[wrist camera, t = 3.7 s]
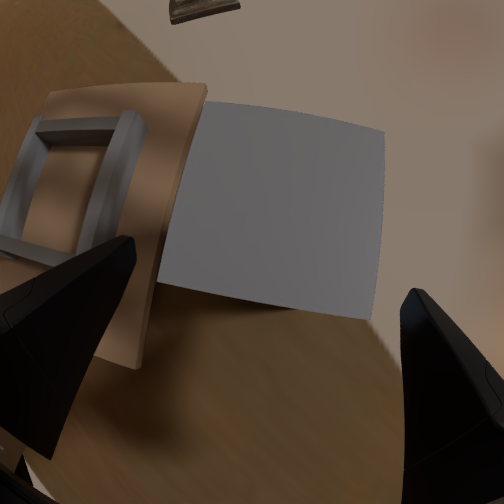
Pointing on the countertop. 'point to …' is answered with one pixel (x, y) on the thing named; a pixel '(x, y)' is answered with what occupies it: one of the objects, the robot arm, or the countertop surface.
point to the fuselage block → (279, 210)
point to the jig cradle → (100, 190)
